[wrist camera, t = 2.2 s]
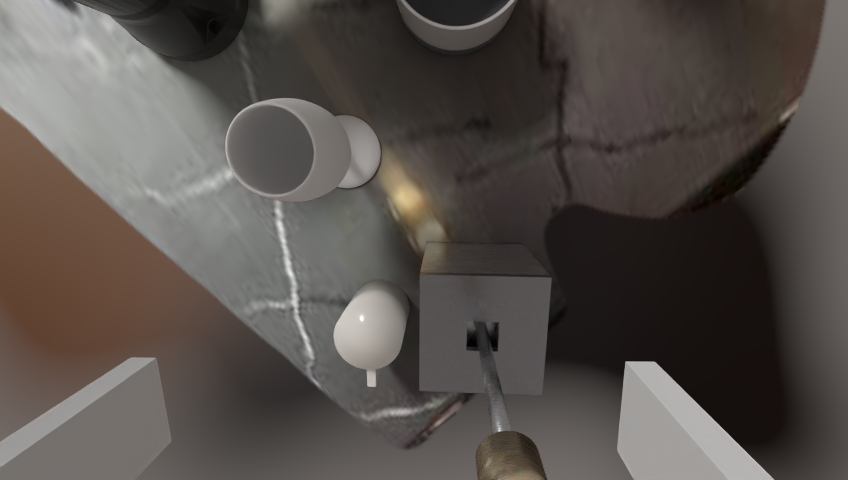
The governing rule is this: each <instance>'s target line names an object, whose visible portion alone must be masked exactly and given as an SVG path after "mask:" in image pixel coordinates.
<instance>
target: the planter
mask: <svg viewBox="0 0 848 480" xmlns="http://www.w3.org/2000/svg"><path fill="white" fill-rule="evenodd" d="M517 1H518V0H396V2H397V5H398V8H399V11H400V14H401V17H402V19H403V22H404V24H405V25H406V27H407V29H408V30H409V32H410V33H411V34H412V36H413V37H414V38H415V39H416V40H417V41H418V42H419V43H421V44H422V45H423V46H425V47H426V48H428V49H430V50H432V51H434V52H437V53H440V54H445V55H464V54H469V53H472V52H475V51H477V50H479V49H481V48H483V47H485V46H486V45H488V44H489V43H490V42H492V41H493V40H494V39H495V38H496V37H497V36H498V35H499V34H500V32H501V31H502V30H503V28H504V27H505V25H506V24H507V22H508V20H509V18H510V16H511V14H512V12H513V10H514V7H515V5H516V3H517Z"/></svg>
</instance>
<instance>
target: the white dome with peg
mask: <svg viewBox="0 0 848 480" xmlns="http://www.w3.org/2000/svg"><path fill="white" fill-rule="evenodd" d="M409 309H410V307H409V301H408V298H407V296H406V294H405V293H404V291H403V290H402V289H401V288H400V287H399V286H397V285H396V284H394V283H392V282H390V281H386V280H374V281H370V282H368V283H366V284H364V285H363V286H361V287H360V288H359V289H358V291H357V292H356V294H355V295H354V297H353V298H352V300H351V302H350V303H349V305H348V306H347V308H346V309H345V311H344V312H343V314H342V315H341V317H340V319H339V320H338V322H337V324H336V326H335V330H334V342H335V346H336V348H337V350H338V352H339V354H340V355H341V356H342V358H343V359H344V360H346V361H347V362H348V363H350V364H351V365H353V366H355V367H358V368H361V369H367V386H368V387H376V385H377V382H378V378H379V375H380V372H381V368H382V367H384V366H386V365H388V364H390V363H391V362H392V361H393V360H394V359H395V358H396V357H397V355H398V354H399V352H400V349H401V346H402V342H403V337H404V333H405V328H406V324H407V320H408V315H409Z"/></svg>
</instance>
